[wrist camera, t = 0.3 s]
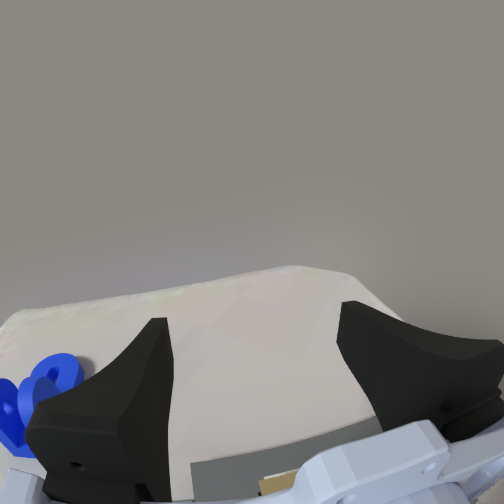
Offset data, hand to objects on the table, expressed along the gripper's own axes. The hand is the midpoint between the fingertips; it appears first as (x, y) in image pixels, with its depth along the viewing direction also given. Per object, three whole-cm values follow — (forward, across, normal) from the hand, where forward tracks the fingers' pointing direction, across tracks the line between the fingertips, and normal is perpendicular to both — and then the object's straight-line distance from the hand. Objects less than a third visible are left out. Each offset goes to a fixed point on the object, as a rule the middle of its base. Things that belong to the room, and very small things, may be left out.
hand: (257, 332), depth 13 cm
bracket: (+17, +24, +22) cm, 37 cm away
